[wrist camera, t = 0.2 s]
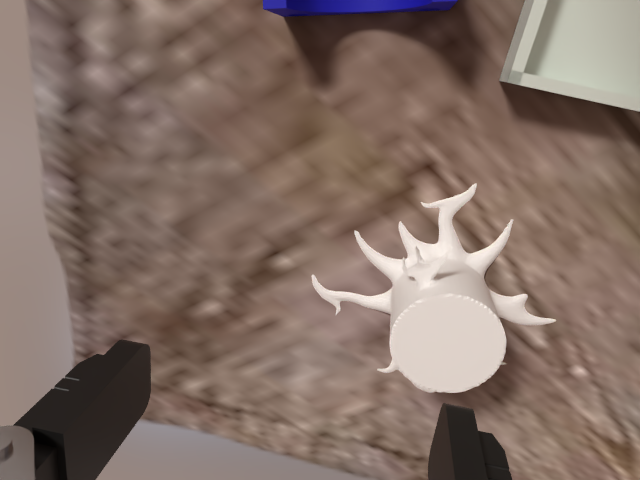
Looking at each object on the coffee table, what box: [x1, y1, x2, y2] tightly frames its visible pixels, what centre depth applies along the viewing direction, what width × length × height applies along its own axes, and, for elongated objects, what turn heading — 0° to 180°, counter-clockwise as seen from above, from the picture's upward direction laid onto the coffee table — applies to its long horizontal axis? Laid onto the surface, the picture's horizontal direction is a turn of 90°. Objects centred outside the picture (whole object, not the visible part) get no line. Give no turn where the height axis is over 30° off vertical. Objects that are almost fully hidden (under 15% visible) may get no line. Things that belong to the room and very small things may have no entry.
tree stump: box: [312, 183, 556, 393], centre depth 39 cm, size 20×19×8 cm
